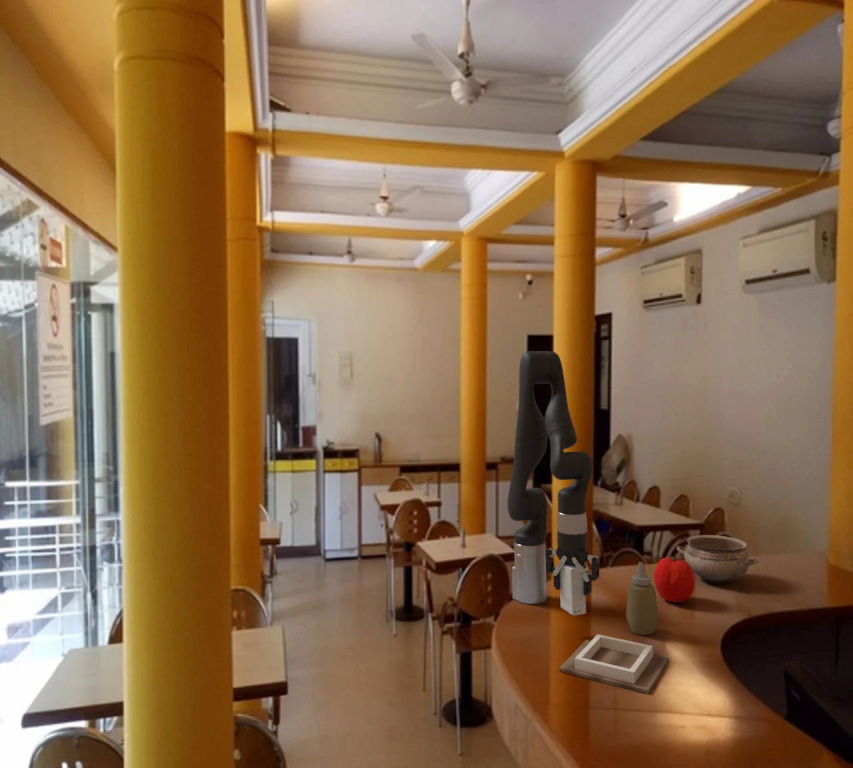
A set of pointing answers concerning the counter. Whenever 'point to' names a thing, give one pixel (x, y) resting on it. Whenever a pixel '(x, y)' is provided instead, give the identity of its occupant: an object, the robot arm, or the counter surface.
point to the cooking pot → (717, 557)
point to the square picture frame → (611, 670)
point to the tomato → (674, 579)
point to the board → (621, 660)
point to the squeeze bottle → (642, 603)
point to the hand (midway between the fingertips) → (572, 591)
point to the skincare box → (572, 590)
